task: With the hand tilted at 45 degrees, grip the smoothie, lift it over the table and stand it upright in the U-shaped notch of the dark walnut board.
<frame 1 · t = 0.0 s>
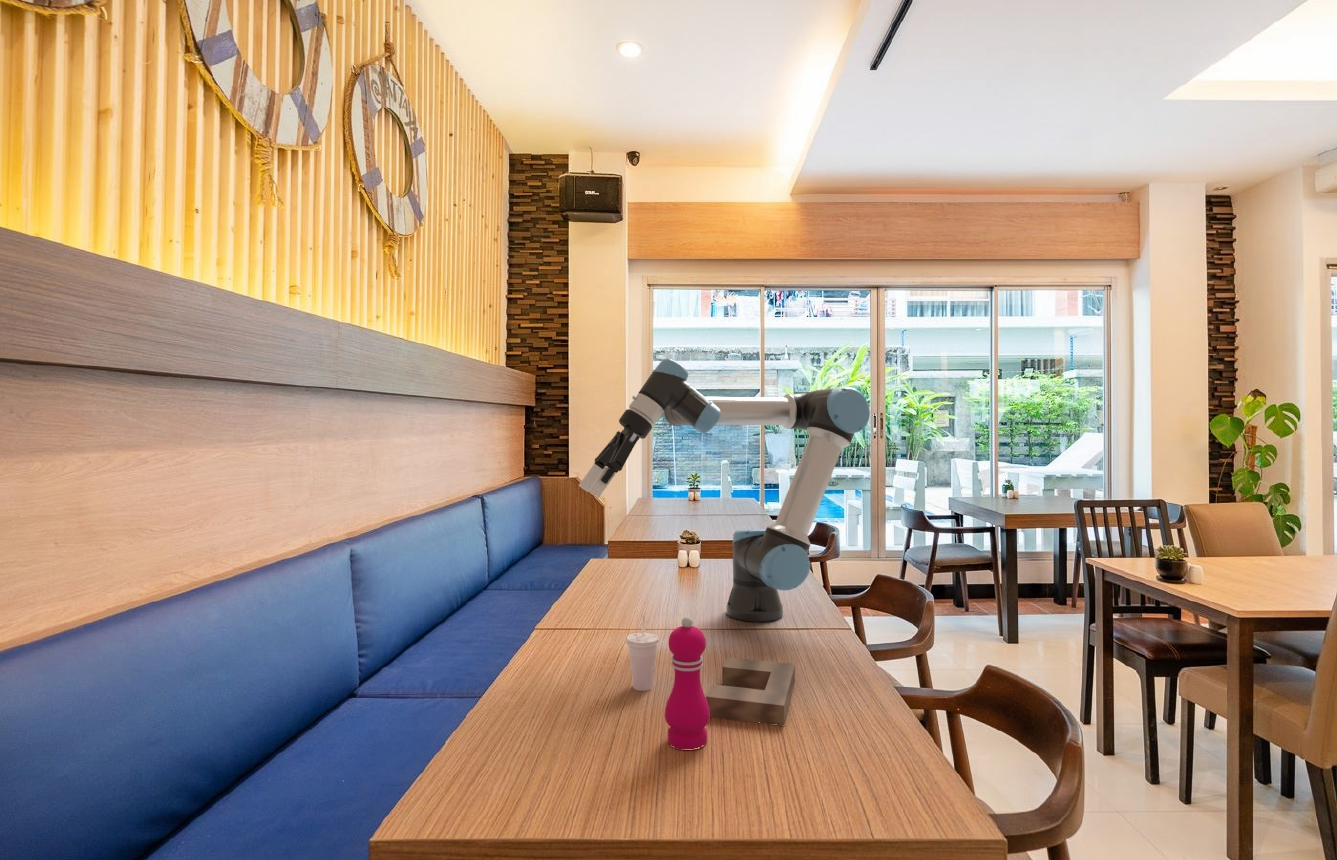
hand: (588, 491, 147), 36 cm above the table, tool tilted 35°, fingers open, 13 cm apart
pepper mill: (687, 742, 102), on the table
smoothie: (642, 688, 124), on the table
notched board: (744, 696, 120), on the table
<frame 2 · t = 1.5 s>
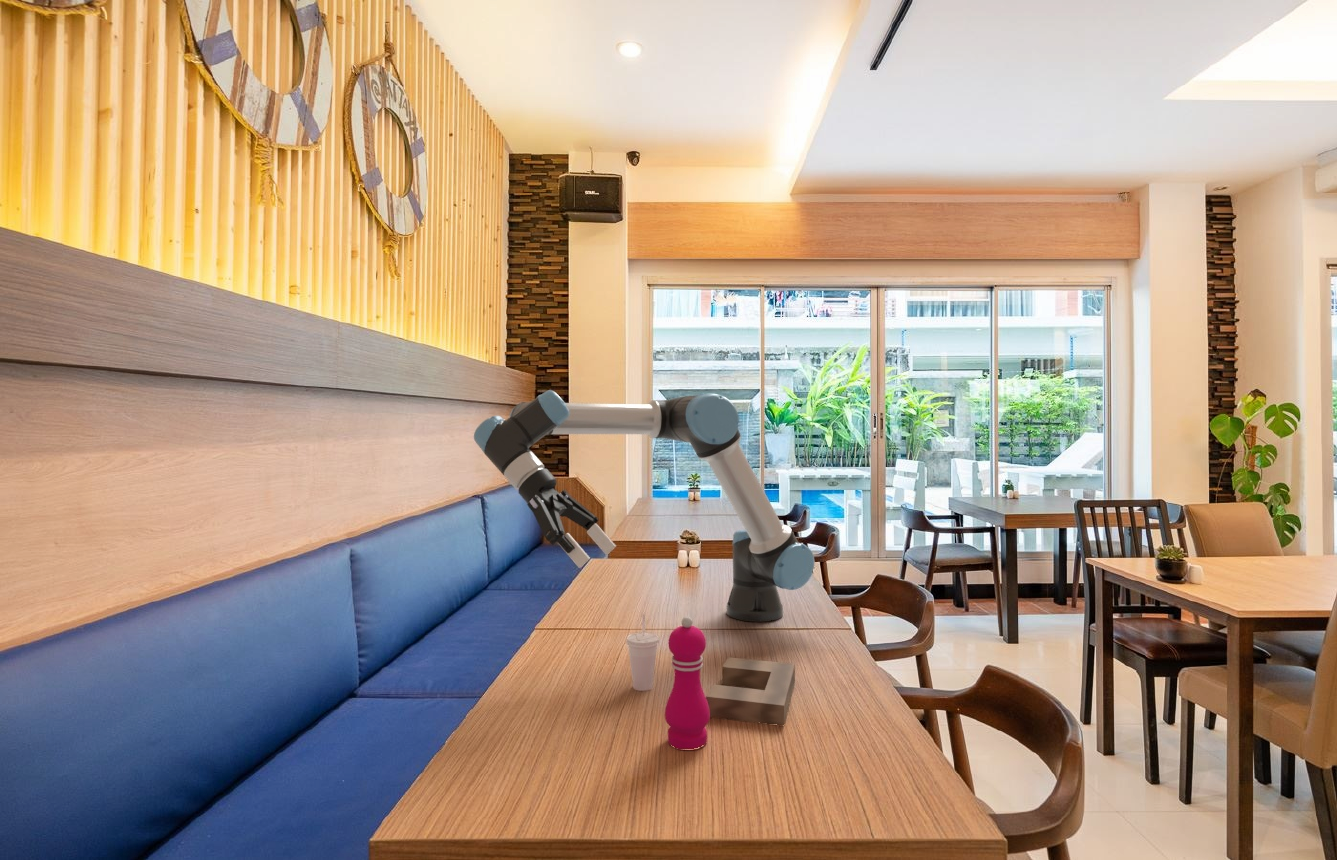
hand: (598, 556, 127), 25 cm above the table, tool tilted 45°, fingers open, 13 cm apart
nothing on the table moved.
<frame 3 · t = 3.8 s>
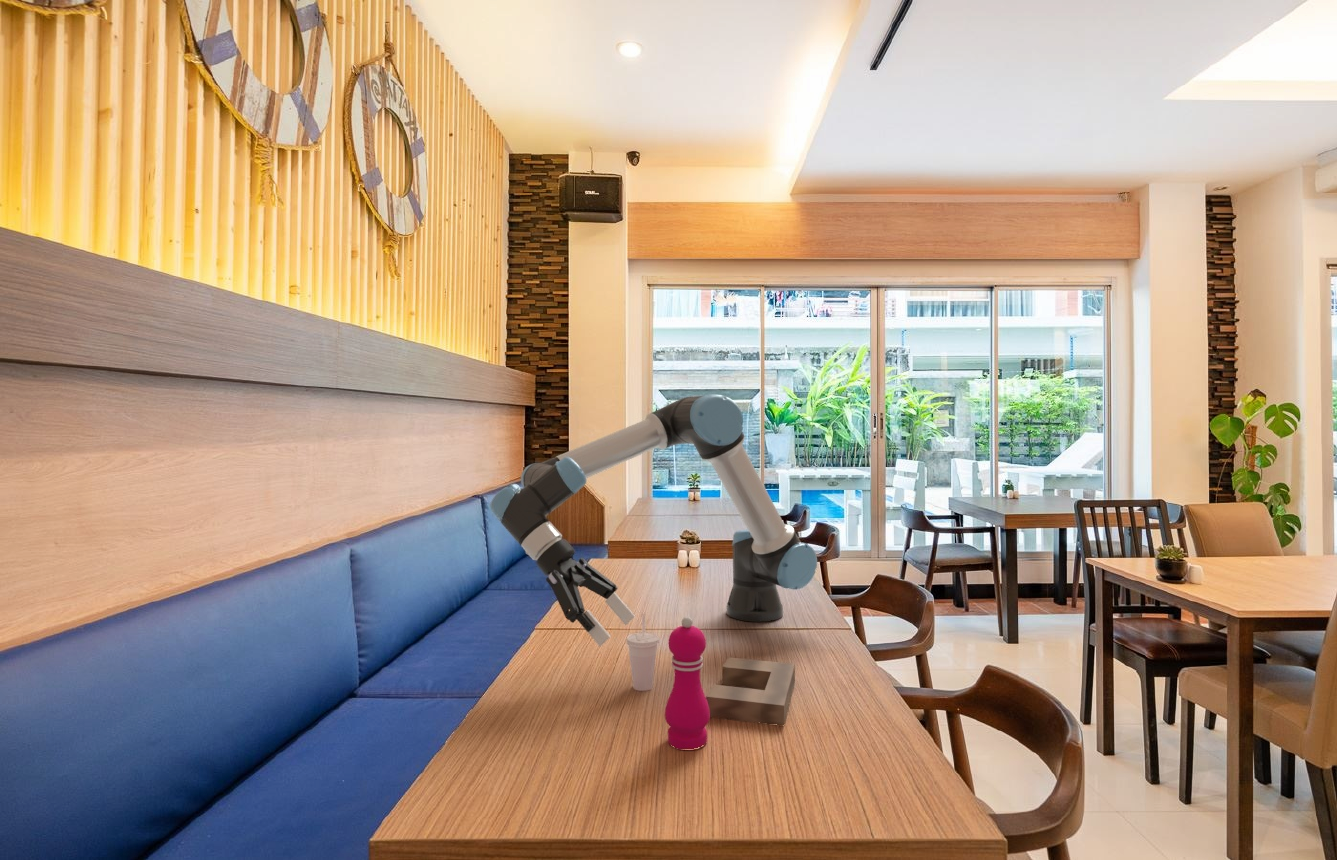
hand: (618, 630, 125), 11 cm above the table, tool tilted 45°, fingers open, 13 cm apart
nothing on the table moved.
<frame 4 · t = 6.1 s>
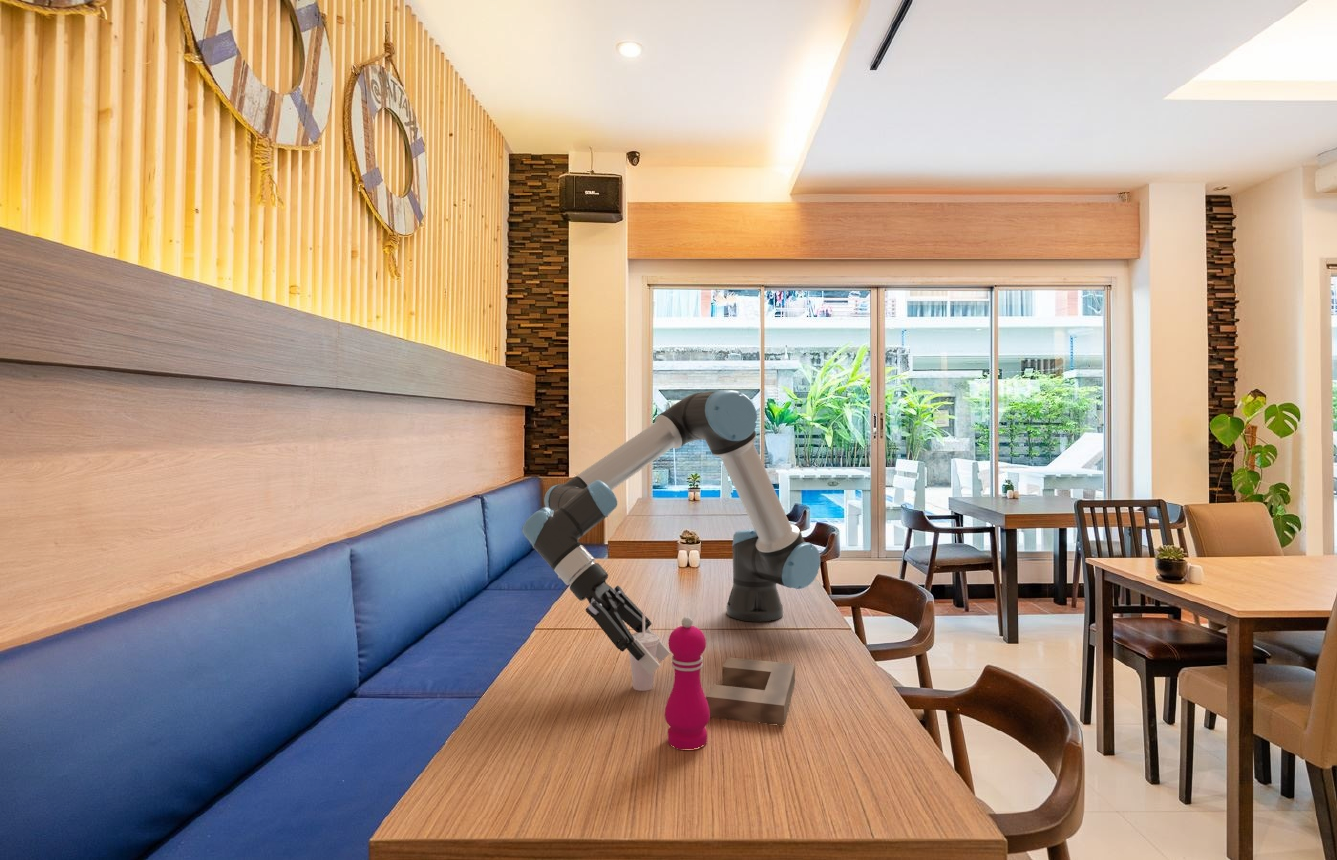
hand: (660, 663, 123), 5 cm above the table, tool tilted 45°, fingers closed on smoothie, 6 cm apart
smoothie: (642, 688, 124), on the table, touching gripper
everything else where it was.
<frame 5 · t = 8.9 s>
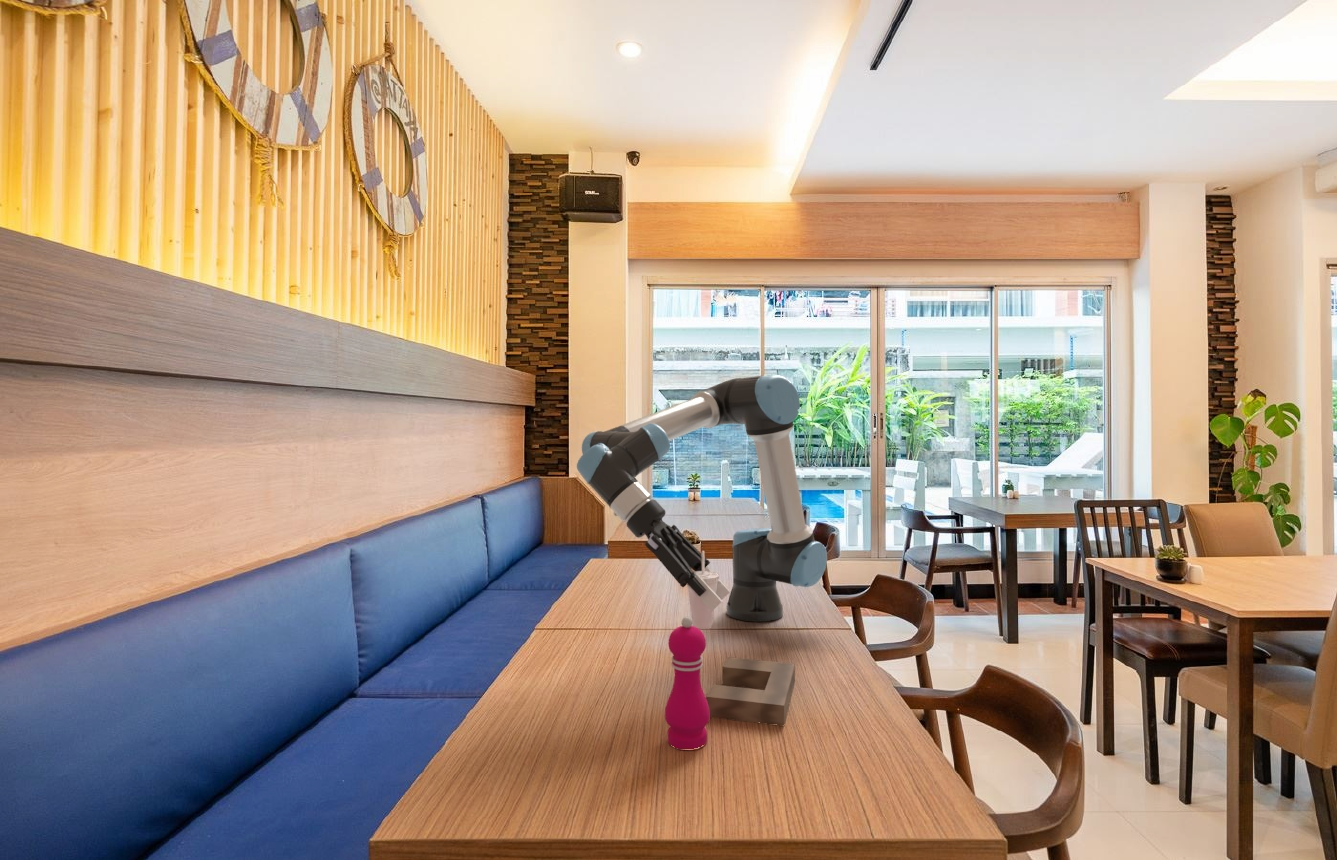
hand: (721, 601, 119), 18 cm above the table, tool tilted 45°, fingers closed on smoothie, 6 cm apart
smoothie: (702, 626, 120), point 13 cm above the table, touching gripper
everything else where it was.
when the fingers open (6 cm above the table, at t = 12.0 s): smoothie drops 1 cm, on the table.
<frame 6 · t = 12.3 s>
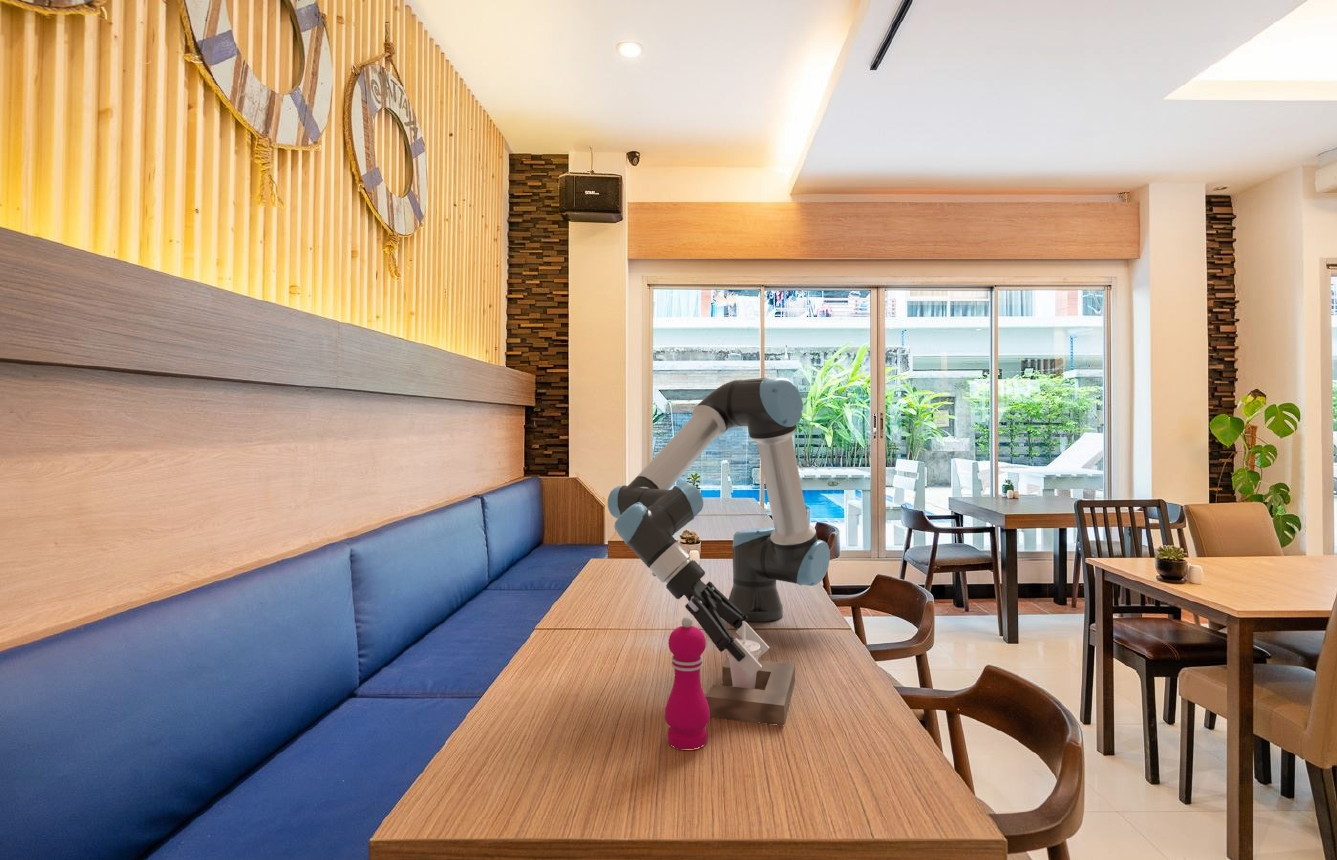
hand: (760, 661, 119), 7 cm above the table, tool tilted 45°, fingers open, 9 cm apart
smoothie: (743, 697, 120), on the table
everything else where it was.
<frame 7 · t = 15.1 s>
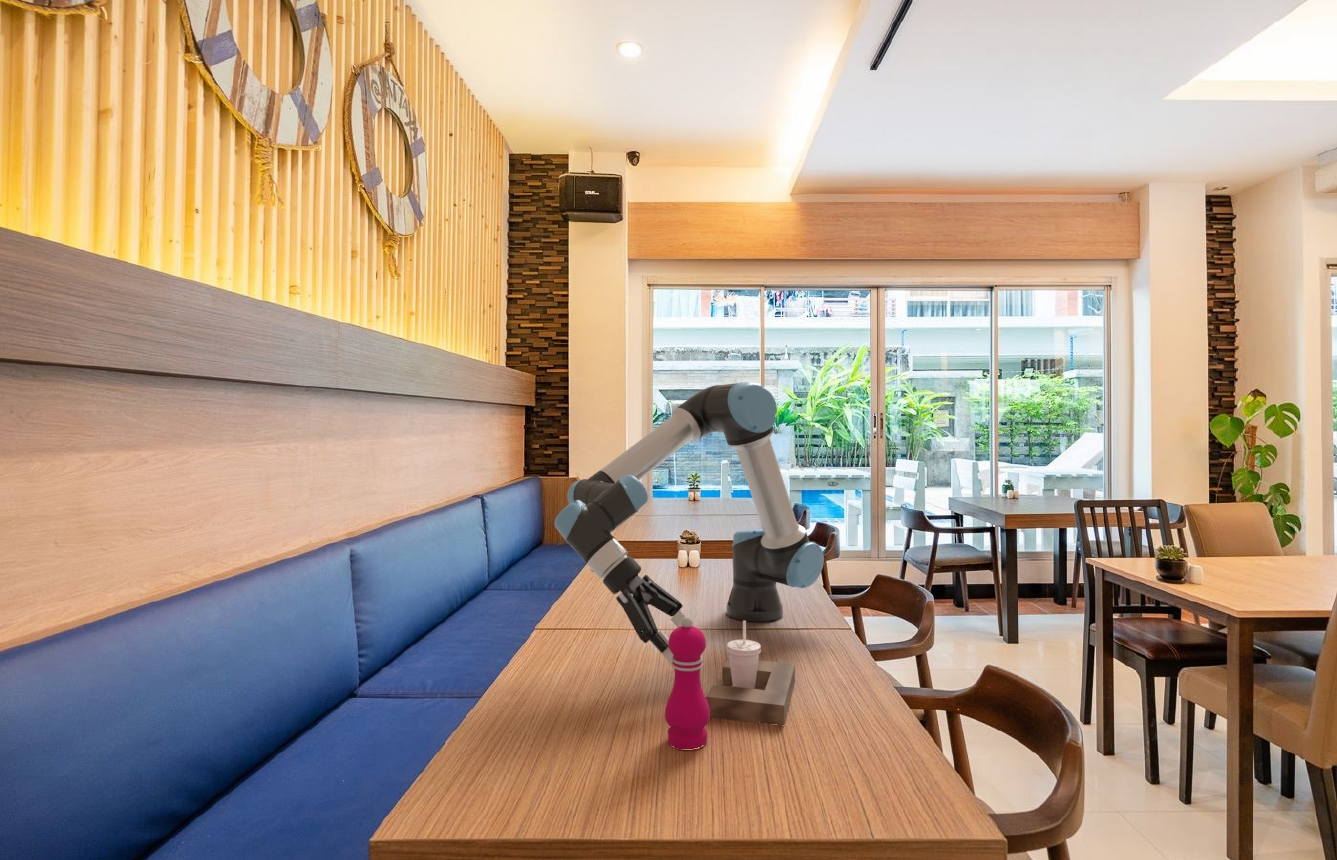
hand: (689, 650, 123), 8 cm above the table, tool tilted 45°, fingers open, 13 cm apart
nothing on the table moved.
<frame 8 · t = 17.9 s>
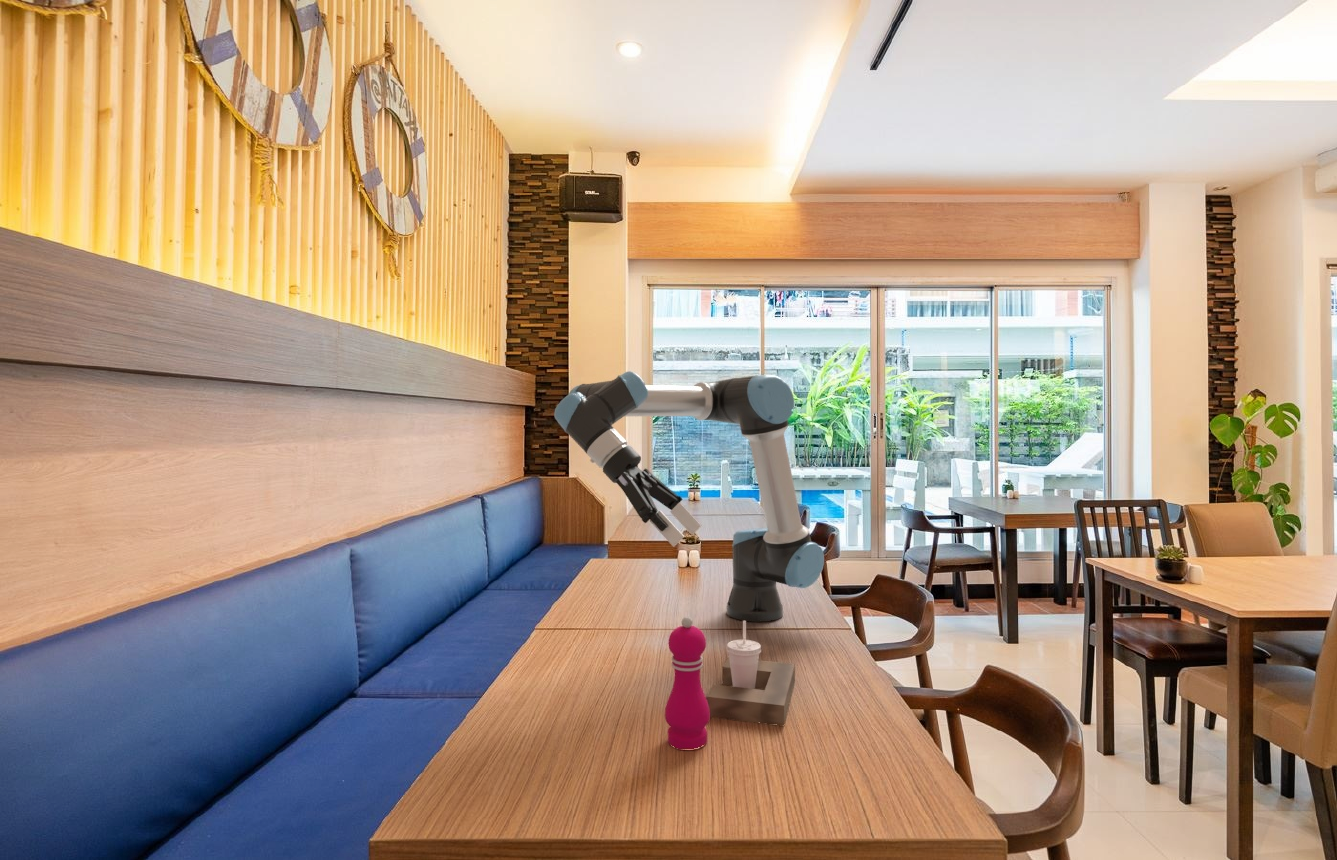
hand: (688, 535, 123), 30 cm above the table, tool tilted 45°, fingers open, 13 cm apart
nothing on the table moved.
at the end: smoothie 0.2 cm from the notched board (horizontally); smoothie tilted 0°; the gripper is holding nothing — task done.
